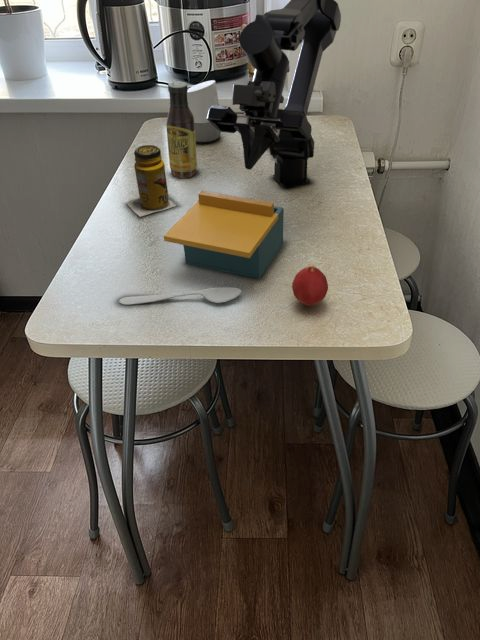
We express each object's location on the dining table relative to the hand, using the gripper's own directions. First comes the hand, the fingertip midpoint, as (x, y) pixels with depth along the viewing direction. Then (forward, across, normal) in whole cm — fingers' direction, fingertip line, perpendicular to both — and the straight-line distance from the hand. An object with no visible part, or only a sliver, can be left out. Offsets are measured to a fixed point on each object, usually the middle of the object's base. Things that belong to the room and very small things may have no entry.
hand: (247, 168), depth 105 cm
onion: (+22, +18, -2) cm, 29 cm away
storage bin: (+15, 0, +4) cm, 15 cm away
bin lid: (+13, 0, -5) cm, 14 cm away
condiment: (+7, -26, +10) cm, 28 cm away
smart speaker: (-18, -33, +36) cm, 52 cm away
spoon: (+26, -2, -9) cm, 28 cm away
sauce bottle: (-4, -27, +22) cm, 35 cm away
